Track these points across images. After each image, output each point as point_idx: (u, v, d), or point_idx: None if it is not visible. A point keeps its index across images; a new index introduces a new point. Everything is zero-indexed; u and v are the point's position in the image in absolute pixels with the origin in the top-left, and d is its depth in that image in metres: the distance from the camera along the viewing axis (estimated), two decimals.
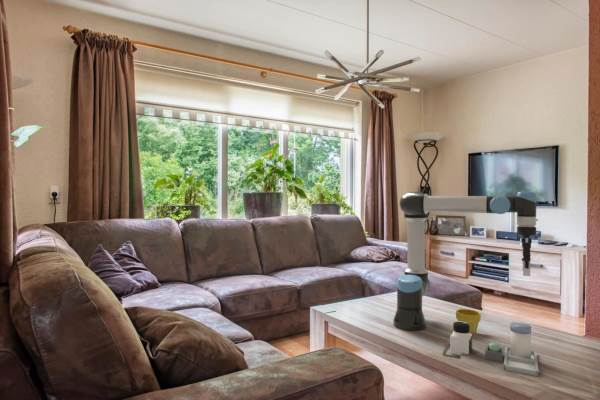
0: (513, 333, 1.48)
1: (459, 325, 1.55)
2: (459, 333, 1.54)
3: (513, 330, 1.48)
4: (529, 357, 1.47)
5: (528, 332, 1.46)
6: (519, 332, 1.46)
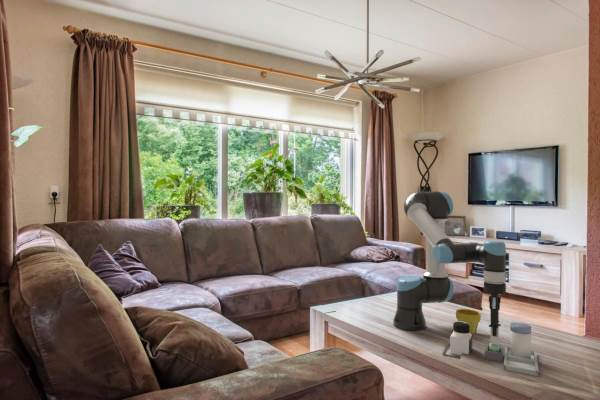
0: (513, 333, 1.48)
1: (459, 325, 1.55)
2: (459, 333, 1.54)
3: (513, 330, 1.48)
4: (529, 357, 1.47)
5: (528, 332, 1.46)
6: (519, 332, 1.46)
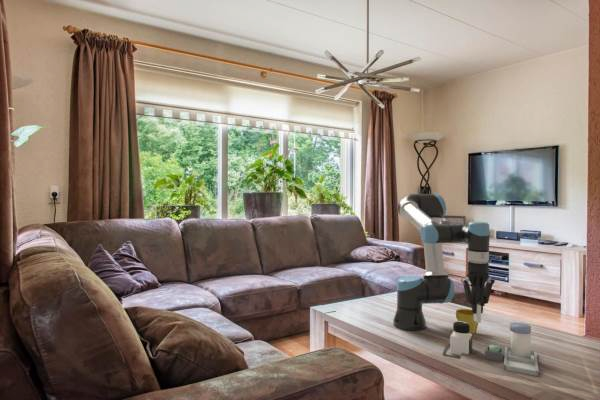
0: (513, 332, 1.48)
1: (459, 325, 1.55)
2: (459, 333, 1.54)
3: (513, 330, 1.48)
4: (529, 357, 1.47)
5: (528, 332, 1.46)
6: (518, 332, 1.47)
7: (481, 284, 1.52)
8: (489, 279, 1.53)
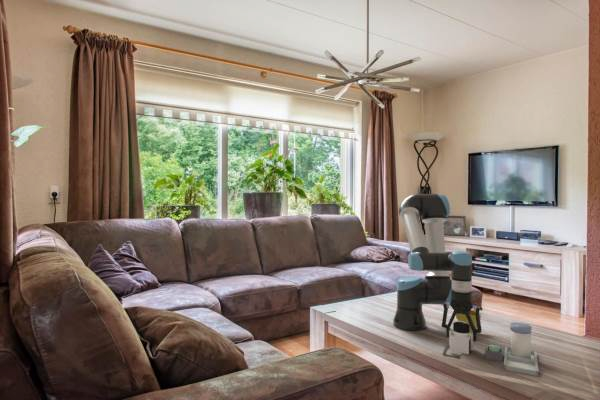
0: (513, 332, 1.48)
1: (459, 325, 1.55)
2: (459, 333, 1.54)
3: (513, 330, 1.48)
4: (529, 357, 1.47)
5: (528, 332, 1.46)
6: (519, 331, 1.47)
7: (465, 313, 1.55)
8: (474, 308, 1.54)
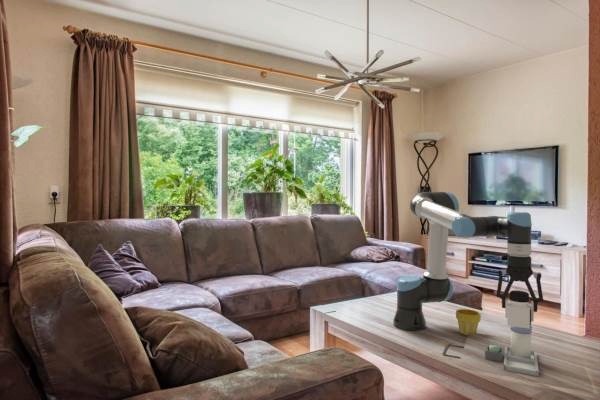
0: (513, 332, 1.48)
1: (517, 293, 1.39)
2: (518, 302, 1.38)
3: (513, 330, 1.48)
4: (529, 357, 1.46)
5: (528, 332, 1.46)
6: (519, 332, 1.46)
7: (524, 280, 1.39)
8: (535, 274, 1.38)
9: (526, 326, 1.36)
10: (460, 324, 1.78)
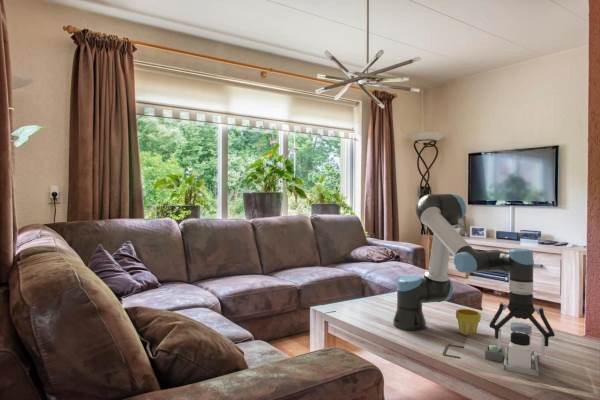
0: None
1: (518, 336, 1.39)
2: (519, 345, 1.38)
3: (513, 330, 1.48)
4: None
5: (528, 332, 1.46)
6: None
7: (528, 317, 1.38)
8: (537, 310, 1.38)
9: None
10: (460, 324, 1.78)
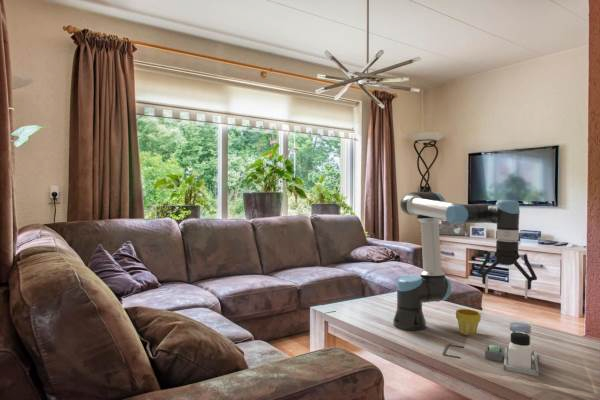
0: None
1: (518, 336, 1.39)
2: (519, 345, 1.38)
3: (512, 329, 1.49)
4: None
5: (527, 332, 1.46)
6: (518, 331, 1.47)
7: (513, 263, 1.49)
8: (521, 256, 1.48)
9: None
10: (460, 324, 1.78)
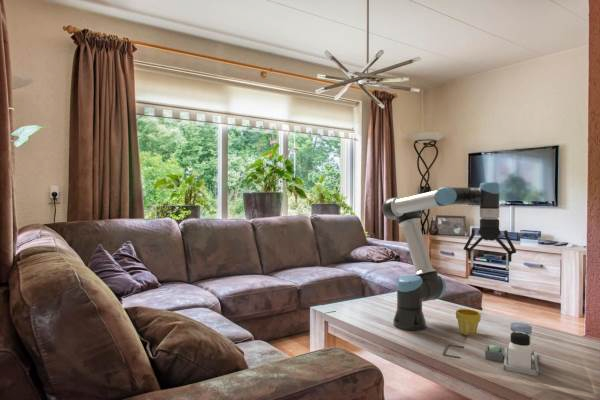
0: None
1: (518, 336, 1.39)
2: (519, 345, 1.38)
3: (513, 330, 1.48)
4: None
5: (528, 332, 1.46)
6: None
7: (495, 239, 1.65)
8: (502, 232, 1.65)
9: None
10: (460, 324, 1.78)
